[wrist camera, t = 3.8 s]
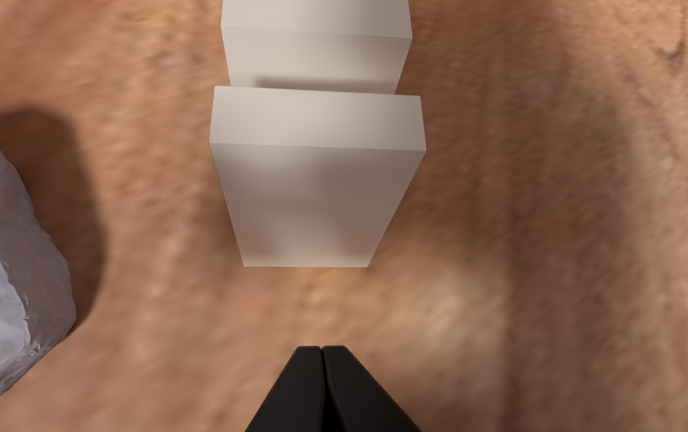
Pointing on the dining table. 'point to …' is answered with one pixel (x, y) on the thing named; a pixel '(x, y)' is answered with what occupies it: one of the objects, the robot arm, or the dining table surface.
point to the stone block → (28, 283)
